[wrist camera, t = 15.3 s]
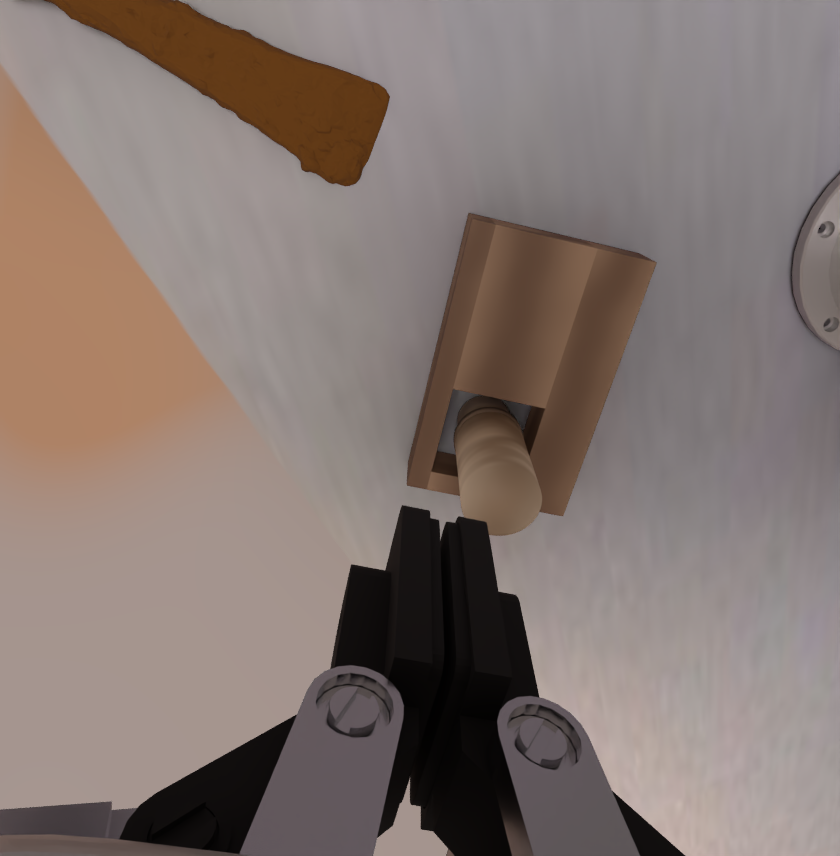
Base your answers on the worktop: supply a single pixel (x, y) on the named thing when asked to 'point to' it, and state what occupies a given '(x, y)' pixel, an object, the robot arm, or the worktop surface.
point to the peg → (495, 467)
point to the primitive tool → (252, 81)
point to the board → (531, 345)
